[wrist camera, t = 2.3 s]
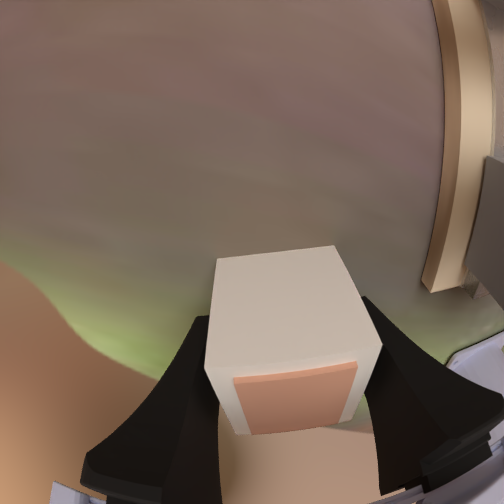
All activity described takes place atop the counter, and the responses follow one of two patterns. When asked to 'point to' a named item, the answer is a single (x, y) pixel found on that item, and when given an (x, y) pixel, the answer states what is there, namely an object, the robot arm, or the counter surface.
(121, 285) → the counter surface
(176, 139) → the counter surface
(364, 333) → the block
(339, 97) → the counter surface
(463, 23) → the board
